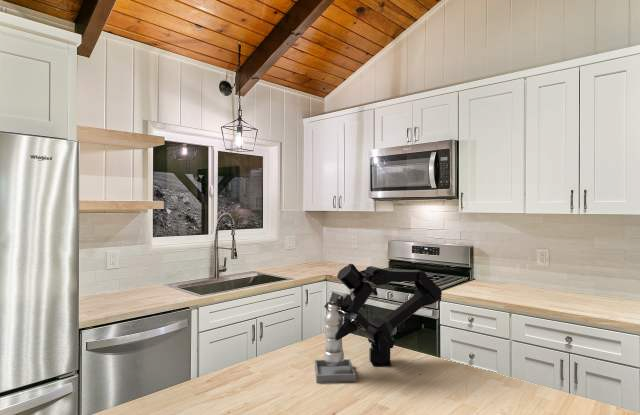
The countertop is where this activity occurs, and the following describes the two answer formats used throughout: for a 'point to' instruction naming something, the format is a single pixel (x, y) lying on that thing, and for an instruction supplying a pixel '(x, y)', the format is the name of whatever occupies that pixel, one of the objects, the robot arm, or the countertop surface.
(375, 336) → the robot arm
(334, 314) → the plastic bottle
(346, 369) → the gray tray
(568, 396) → the countertop surface
